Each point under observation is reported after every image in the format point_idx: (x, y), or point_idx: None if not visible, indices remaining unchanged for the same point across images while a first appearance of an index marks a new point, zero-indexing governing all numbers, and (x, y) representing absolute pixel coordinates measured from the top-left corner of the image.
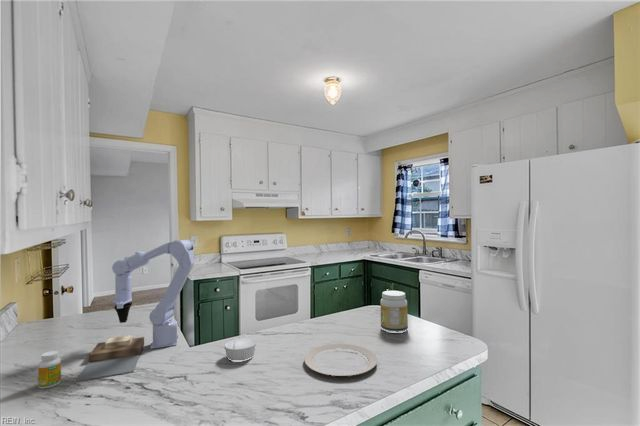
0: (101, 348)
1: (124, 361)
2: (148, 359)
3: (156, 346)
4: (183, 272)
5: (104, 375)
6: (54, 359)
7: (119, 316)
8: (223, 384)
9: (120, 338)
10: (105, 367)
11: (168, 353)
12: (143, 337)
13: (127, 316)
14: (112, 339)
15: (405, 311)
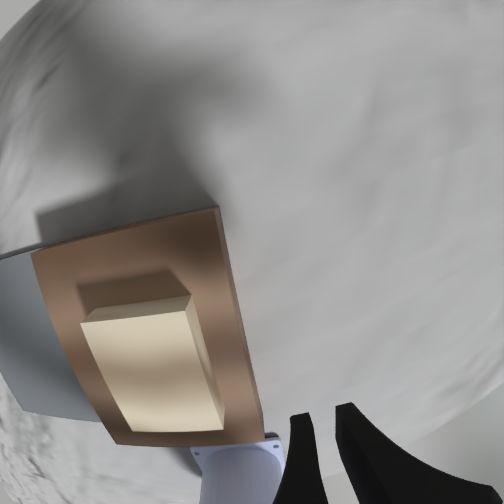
0: (103, 283)
1: (64, 385)
2: (98, 441)
3: (201, 460)
4: None
5: None
6: None
7: (288, 474)
8: (40, 496)
9: (165, 387)
10: (19, 334)
11: (147, 478)
12: (257, 439)
13: (348, 474)
14: (149, 345)
15: None
